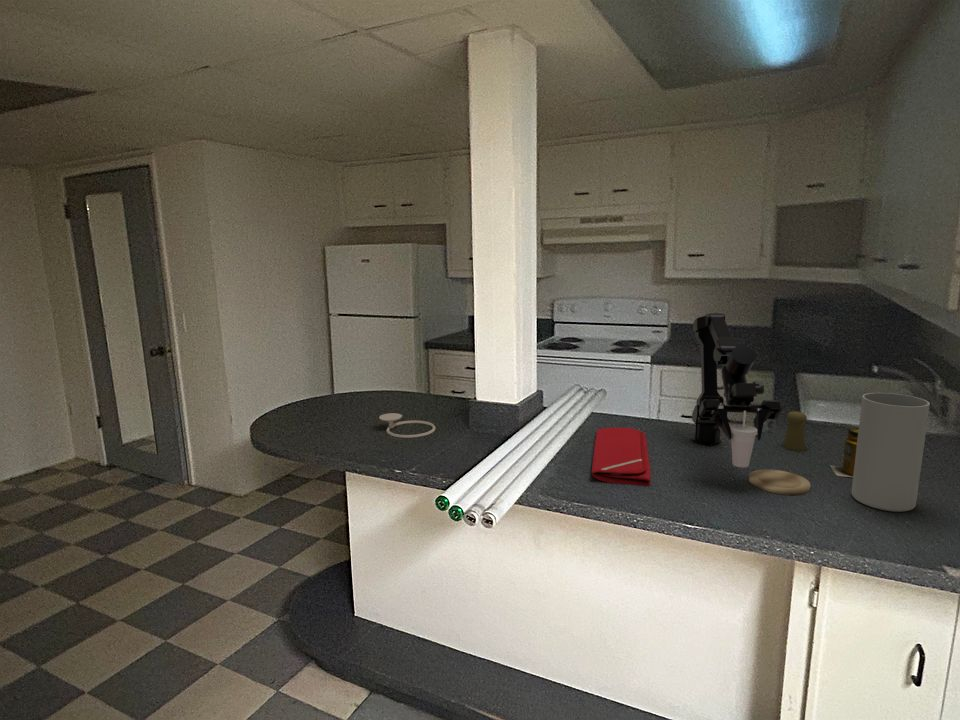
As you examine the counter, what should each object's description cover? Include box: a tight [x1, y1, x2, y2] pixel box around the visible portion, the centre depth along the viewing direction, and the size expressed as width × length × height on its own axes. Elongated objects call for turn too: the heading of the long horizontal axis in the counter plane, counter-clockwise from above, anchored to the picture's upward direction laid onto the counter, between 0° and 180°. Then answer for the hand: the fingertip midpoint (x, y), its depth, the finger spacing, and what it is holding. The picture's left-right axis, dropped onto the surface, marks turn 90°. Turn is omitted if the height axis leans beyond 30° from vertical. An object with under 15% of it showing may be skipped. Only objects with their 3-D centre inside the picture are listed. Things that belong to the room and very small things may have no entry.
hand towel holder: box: [378, 412, 436, 439], centre depth 195 cm, size 17×4×20 cm
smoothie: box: [729, 411, 757, 468], centre depth 141 cm, size 6×6×14 cm
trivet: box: [748, 469, 811, 496], centre depth 145 cm, size 14×14×1 cm
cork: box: [782, 410, 808, 452], centre depth 170 cm, size 6×6×11 cm
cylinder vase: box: [851, 392, 931, 513], centre depth 132 cm, size 12×12×25 cm
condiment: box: [829, 427, 859, 478], centre depth 150 cm, size 7×8×12 cm
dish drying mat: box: [591, 427, 652, 487], centre depth 166 cm, size 16×41×4 cm, turn 166°
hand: (744, 439), depth 140 cm, fingers closed on smoothie, 6 cm apart
